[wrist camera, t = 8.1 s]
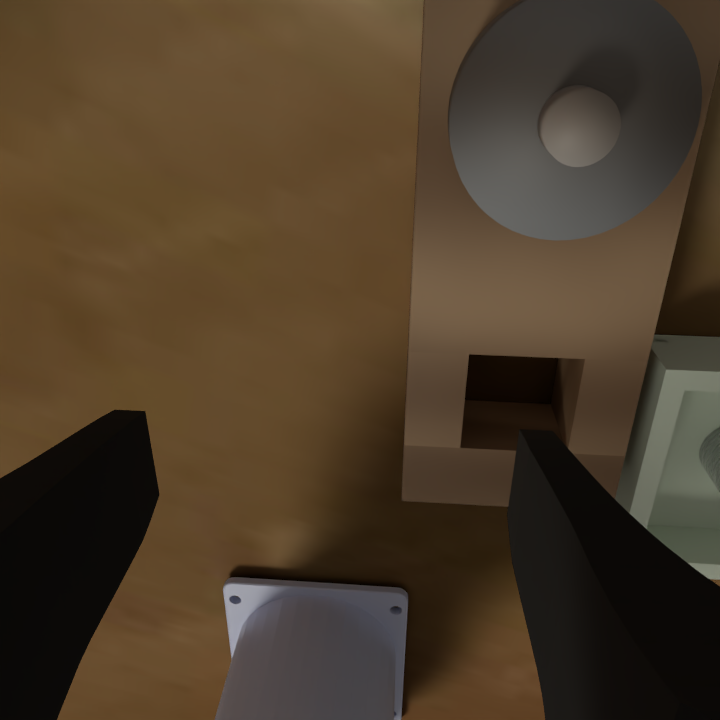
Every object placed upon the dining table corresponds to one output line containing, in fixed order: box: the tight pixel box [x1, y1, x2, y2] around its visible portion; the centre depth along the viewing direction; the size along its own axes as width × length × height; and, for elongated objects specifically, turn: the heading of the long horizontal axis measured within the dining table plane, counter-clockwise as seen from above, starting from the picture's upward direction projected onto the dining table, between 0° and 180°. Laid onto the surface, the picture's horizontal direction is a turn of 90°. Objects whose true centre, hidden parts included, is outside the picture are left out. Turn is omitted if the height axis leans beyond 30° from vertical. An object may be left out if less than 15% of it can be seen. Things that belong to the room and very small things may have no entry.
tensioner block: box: [402, 0, 720, 507], centre depth 19 cm, size 16×7×5 cm, turn 0°
